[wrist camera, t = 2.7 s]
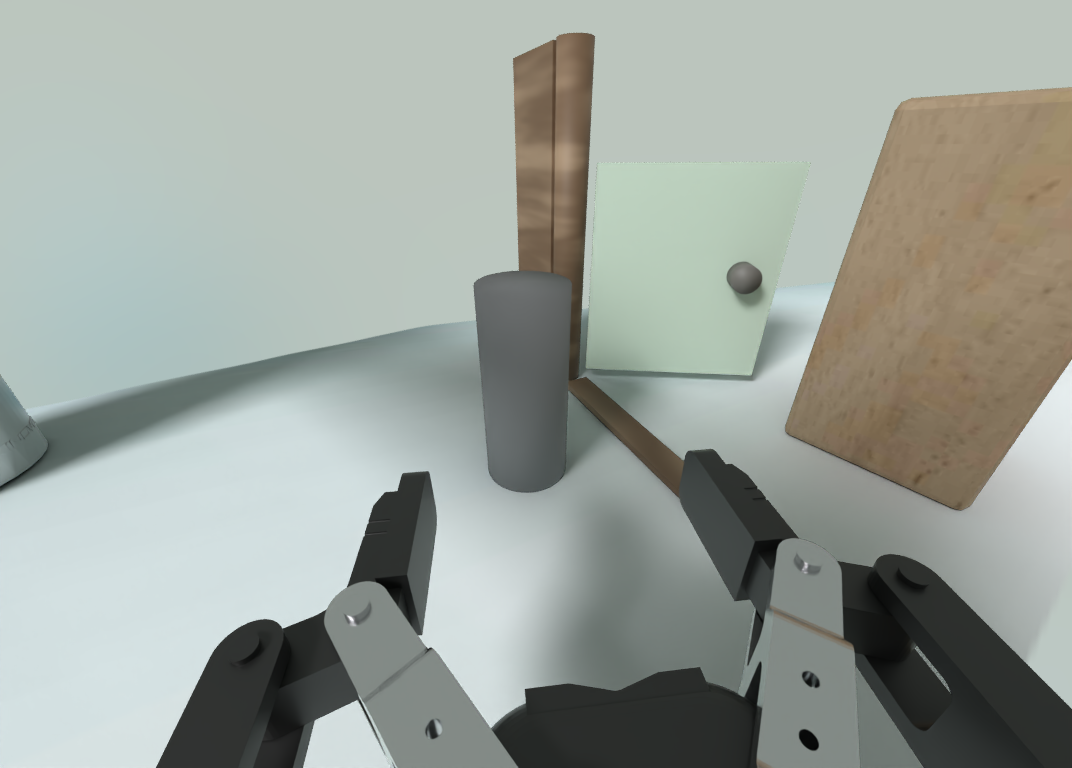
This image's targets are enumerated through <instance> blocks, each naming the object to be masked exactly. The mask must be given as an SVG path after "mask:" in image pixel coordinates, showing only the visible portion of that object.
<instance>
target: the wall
mask: <svg viewBox="0 0 1072 768" xmlns="http://www.w3.org/2000/svg"><path fill="white" fill-rule="evenodd" d="M594 44H595V36H594V35H592V34H588V33H567V34H563V35H559V36H557V39H556V40H552V41H550V42H548V43H545V44H543V45H541V46H539V47H537V48H535V49H532V50H531V51H528V52H526V53H524V54H522V55H520V56H517V57H515V58H513V65H514V66H513V68H514V107H515V140H516V141H515V143H516V177H517V178H516V180H517V216H518V252H519V271H542V272H549V273H554V274H558V275H561V276H564V277H566V278H568V279H569V280H570V281H571V282H572V293H571V322H570V350H569V379H568V390H569V391H570V392H571V393H572V394H574V395H575V396H576V397H577V398H578V399H579V400H580V401H581V402H582V403H583V404H584V405H585V406H586V407H587V408H588V409H589V410H590V411H591V412H592V413H593V414H594V415H595V416H596V417H597V418H598V419H599V420H600V421H601V422H602V423H603V424H604V425H605V426H606V427H607V428H608V429H609V430H610V431H611V432H612V433H613V434H614V435H615V436H616V437H617V438H618V439H620V440H621V441H622V442H623V443H624V444H625V445H626V446H627V447H628V448H629V449H630V450H631V451H632V452H633V453H634V454H635V455H636V456H637V457H638V458H639V459H640V460H641V461H642V462H643V463H644V464H645V465H646V466H647V467H648V468H649V469H650V470H651V471H652V472H653V473H654V474H655V475H656V476H657V477H658V478H659V479H660V480H661V481H662V482H663V483H664V484H666V485H667V486H668V487H669V488H670V489H671V490H672V491H673V492H674V493H675V494H676V495H677V496H678V497H679V486H680V481H681V476H682V470H683V465H684V461H683V460H681V459H680V458H679V457H678V456H677V455H676V454H674V453H673V452H672V451H671V450H670V449H669V448H668V447H666V446H665V445H664V444H663V443H662V442H661V441H659V440H658V439H657V438H656V437H655V436H654V435H652V434H651V433H650V432H649V431H648V430H647V429H646V428H644V427H643V426H642V425H641V424H640V423H639V422H637V421H636V420H635V419H634V418H633V417H632V416H631V415H629V414H628V413H627V412H626V411H625V410H624V409H622V408H621V407H620V406H619V405H618V404H617V403H616V402H614V401H613V400H612V399H611V398H610V397H609V396H607V395H606V394H605V393H604V392H603V391H602V390H601V389H599V388H598V387H597V386H596V385H595V384H594V383H592V382H591V381H590V380H589V379H588V378H587V377H584V378H580V379H576V378H577V377H578V375H579V354H580V334H581V313H582V292H583V272H584V271H583V270H584V249H585V229H586V208H587V189H588V168H589V147H590V126H591V106H592V85H593V65H594ZM574 379H576V380H574ZM679 498H680V497H679Z"/></svg>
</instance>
